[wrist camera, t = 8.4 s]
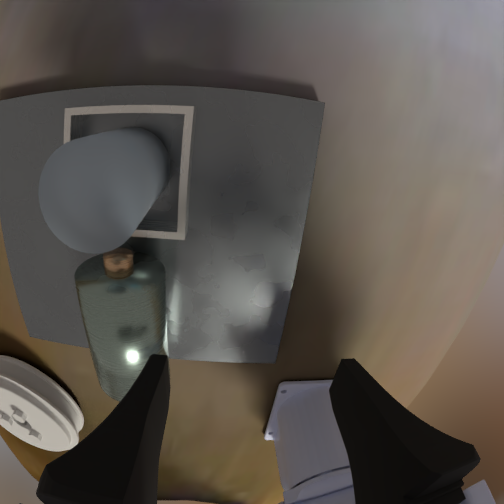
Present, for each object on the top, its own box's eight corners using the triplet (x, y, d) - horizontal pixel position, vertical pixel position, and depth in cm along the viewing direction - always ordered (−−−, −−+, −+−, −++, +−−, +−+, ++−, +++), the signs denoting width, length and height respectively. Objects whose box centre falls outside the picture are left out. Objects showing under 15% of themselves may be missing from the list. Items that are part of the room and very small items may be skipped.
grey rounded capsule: (171, 206, 17) (147, 254, 11) (96, 208, 16) (48, 252, 11) (170, 124, 15) (140, 132, 10) (91, 130, 14) (33, 144, 9)
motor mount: (273, 354, 23) (285, 416, 18) (34, 329, 21) (4, 378, 16) (319, 102, 16) (363, 101, 10) (4, 100, 13) (-57, 108, 8)
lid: (79, 438, 29) (70, 470, 24) (-7, 392, 25) (-22, 421, 21) (94, 388, 25) (81, 430, 20) (-14, 328, 21) (-38, 361, 16)
